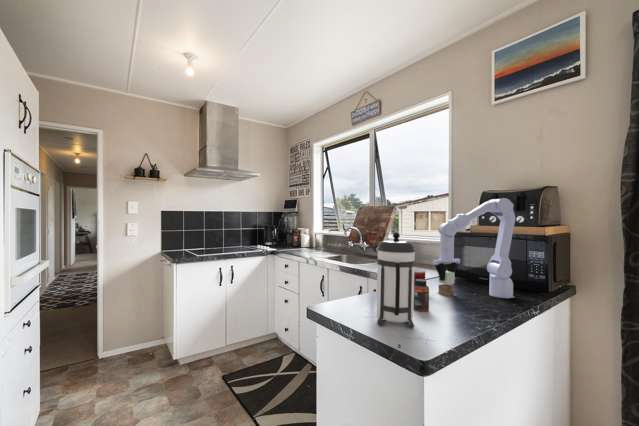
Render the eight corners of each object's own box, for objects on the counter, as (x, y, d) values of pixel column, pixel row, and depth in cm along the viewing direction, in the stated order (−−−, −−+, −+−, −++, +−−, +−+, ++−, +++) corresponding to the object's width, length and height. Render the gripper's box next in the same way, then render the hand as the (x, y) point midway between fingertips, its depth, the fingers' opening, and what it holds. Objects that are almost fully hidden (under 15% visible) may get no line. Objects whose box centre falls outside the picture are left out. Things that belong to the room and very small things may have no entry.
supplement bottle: (429, 308, 116) (430, 279, 116) (428, 313, 111) (428, 282, 111) (413, 306, 119) (414, 277, 119) (411, 310, 113) (411, 280, 113)
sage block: (446, 281, 138) (446, 270, 138) (454, 283, 134) (454, 272, 134) (439, 282, 136) (439, 271, 136) (446, 284, 132) (447, 273, 132)
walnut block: (445, 292, 138) (446, 283, 138) (453, 294, 134) (454, 285, 134) (438, 293, 136) (438, 284, 136) (446, 295, 132) (446, 286, 132)
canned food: (422, 292, 141) (423, 268, 141) (426, 297, 133) (427, 272, 133) (405, 291, 141) (406, 268, 141) (409, 296, 133) (409, 271, 133)
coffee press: (360, 318, 104) (362, 231, 104) (395, 311, 112) (397, 230, 112) (396, 336, 89) (398, 235, 89) (433, 327, 97) (435, 234, 97)
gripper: (451, 248, 142) (450, 277, 142) (428, 249, 136) (427, 279, 136) (464, 250, 135) (463, 280, 135) (440, 251, 129) (439, 282, 129)
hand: (446, 279), depth 135 cm, fingers closed on sage block, 4 cm apart
